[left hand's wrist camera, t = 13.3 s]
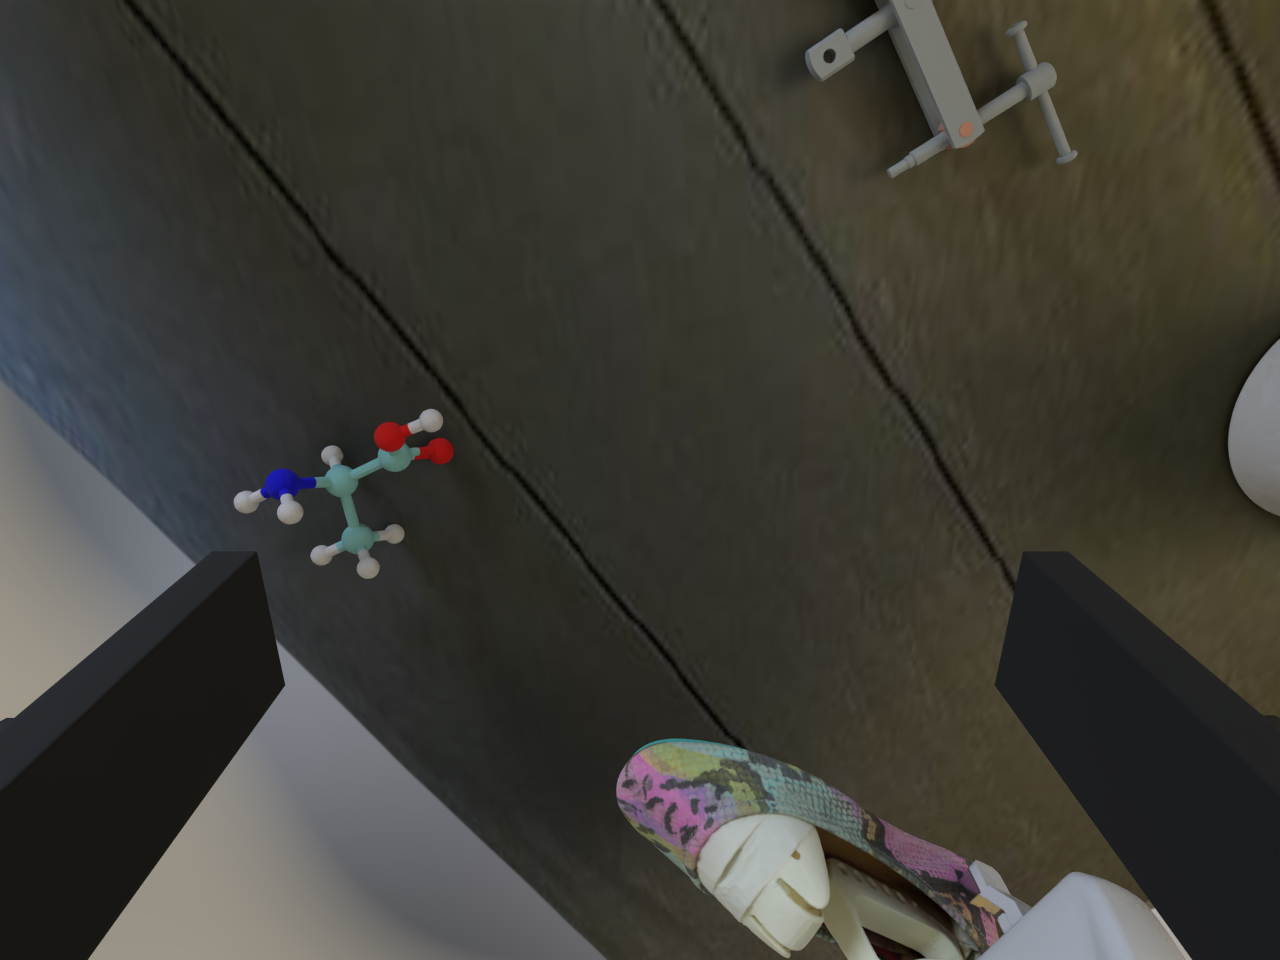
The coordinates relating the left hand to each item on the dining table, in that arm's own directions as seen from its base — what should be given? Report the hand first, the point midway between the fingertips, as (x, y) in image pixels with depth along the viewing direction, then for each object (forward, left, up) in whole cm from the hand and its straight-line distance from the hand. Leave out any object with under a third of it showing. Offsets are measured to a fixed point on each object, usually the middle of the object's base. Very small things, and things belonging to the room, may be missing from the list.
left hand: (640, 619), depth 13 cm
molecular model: (+18, -6, -32) cm, 37 cm away
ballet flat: (+12, +26, -22) cm, 36 cm away
